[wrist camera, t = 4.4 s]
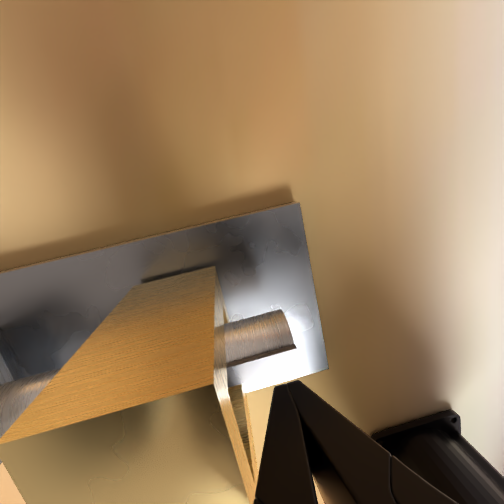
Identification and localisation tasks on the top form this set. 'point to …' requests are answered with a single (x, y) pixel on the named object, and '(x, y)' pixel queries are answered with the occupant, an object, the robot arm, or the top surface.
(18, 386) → the shaft stand
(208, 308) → the tan notched block
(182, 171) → the top surface
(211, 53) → the top surface
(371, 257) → the top surface
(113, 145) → the top surface
